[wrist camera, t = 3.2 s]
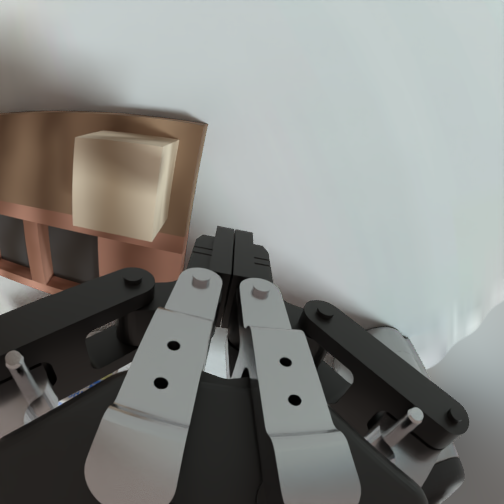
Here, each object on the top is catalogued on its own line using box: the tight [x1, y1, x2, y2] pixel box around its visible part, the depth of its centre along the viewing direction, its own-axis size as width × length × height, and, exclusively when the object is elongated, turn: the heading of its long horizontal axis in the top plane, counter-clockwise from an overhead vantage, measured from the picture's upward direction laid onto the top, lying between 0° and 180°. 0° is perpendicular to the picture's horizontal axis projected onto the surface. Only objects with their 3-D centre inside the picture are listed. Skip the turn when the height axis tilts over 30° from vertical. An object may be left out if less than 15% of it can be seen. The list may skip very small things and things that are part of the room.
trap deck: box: [0, 111, 208, 294], centre depth 20 cm, size 25×18×5 cm
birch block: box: [72, 130, 179, 242], centre depth 18 cm, size 6×6×4 cm
